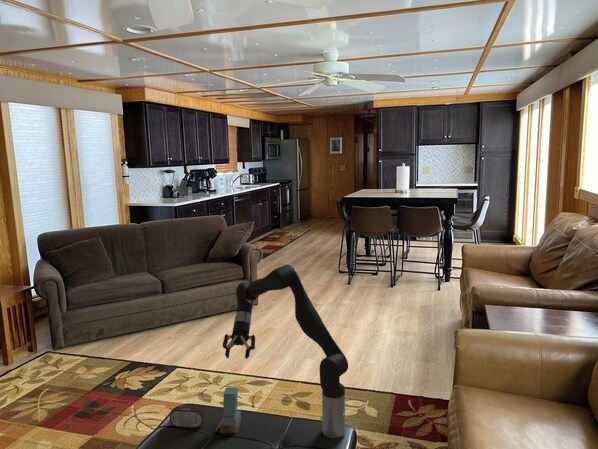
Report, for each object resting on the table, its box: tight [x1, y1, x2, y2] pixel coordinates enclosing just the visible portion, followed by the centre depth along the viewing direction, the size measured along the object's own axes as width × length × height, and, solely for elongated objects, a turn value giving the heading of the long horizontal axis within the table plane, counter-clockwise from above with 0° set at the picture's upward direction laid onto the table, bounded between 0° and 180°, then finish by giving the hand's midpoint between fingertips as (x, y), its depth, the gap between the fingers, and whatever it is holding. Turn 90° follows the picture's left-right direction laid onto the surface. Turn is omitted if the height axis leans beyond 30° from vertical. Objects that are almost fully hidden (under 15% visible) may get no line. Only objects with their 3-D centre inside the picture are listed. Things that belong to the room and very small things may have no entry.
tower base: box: [219, 420, 242, 435], centre depth 193 cm, size 7×7×4 cm
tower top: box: [221, 410, 242, 427], centre depth 192 cm, size 6×6×4 cm
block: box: [222, 387, 239, 417], centre depth 191 cm, size 5×5×10 cm
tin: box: [169, 405, 206, 429], centre depth 194 cm, size 15×3×8 cm, turn 84°
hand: (236, 357), depth 201 cm, fingers open, 8 cm apart
